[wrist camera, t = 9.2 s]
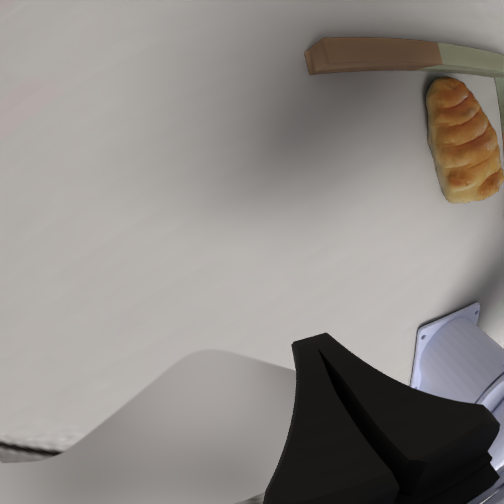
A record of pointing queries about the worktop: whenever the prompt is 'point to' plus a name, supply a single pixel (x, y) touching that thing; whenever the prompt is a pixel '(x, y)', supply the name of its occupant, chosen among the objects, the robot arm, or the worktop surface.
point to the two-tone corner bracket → (405, 59)
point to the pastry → (462, 143)
